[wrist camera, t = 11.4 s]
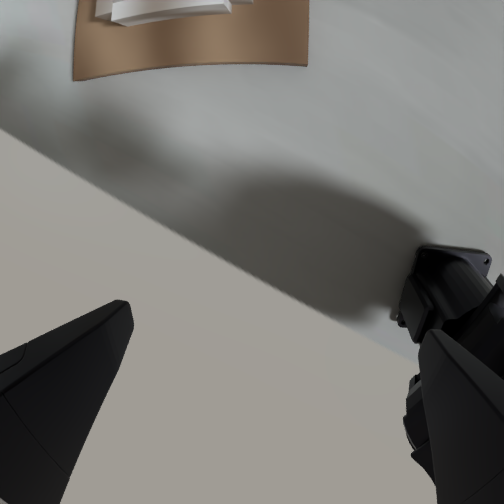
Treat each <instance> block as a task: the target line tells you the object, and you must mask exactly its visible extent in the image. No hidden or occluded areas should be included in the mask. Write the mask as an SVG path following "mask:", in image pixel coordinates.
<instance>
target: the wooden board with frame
mask: <svg viewBox="0 0 504 504" xmlns="http://www.w3.org/2000/svg"><path fill="white" fill-rule="evenodd" d="M308 38H309V0H79V4H78V12H77V22H76V33H75V48H74V71H73V81H85V80H90V79H95V78H100V77H105V76H111V75H117V74H123V73H129V72H136V71H143V70H152V69H160V68H170V67H182V66H196V65H218V64H268V65H290V66H305V67H307V65H308Z"/></svg>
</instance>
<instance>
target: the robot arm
mask: <svg viewBox="0 0 504 504" xmlns="http://www.w3.org/2000/svg"><path fill="white" fill-rule="evenodd" d="M423 252H426V254H425V255H424V256H421V255H422V253H423ZM485 259H487V260H486V261H485ZM484 261H485V262H484ZM491 261H492V258H491V256H490V255H489V254H487V253H482V252H474V251H465V250H457V249H448V248H439V247H430V246H421V247H419V249H418V250H417V252H416V256H415V260H414V264H413V267H412V271H411V274H410V275H409V276H408V277H407V280H406V283H405V287H404V290H403V293H402V297H401V300H400V303H399V308H400V311H399V314H398V317H397V323H398V325H399V326H400V327H404V328H408V331H409V333H410V336H411V339H412V341H413V342H414V343H415V344H419V345H420V349H419V353H418V360H419V368H420V373H419V374H418V375H415V376H414V377H413V378H412V379H411V380H410V384H409V393H408V396H407V398H406V409H407V410H406V412H407V414H406V415H405V416H404V417H403V424H404V427H405V430H406V435H407V438H408V441H409V443H410V444H411V446H412V448H413V449H414V451H413V452H412V453H411V457H412V458H413V459H414V460H415V461H416V462H417V463H418V464H419V465H420V466H422V467H423V468H424V469H425V471H426V472H427V474H428V475H429V476H430V477H431V479H432V481H433V482H434V484H435V486H436V494H437V504H504V276H503V275H502V274H500V275H499V277H498V278H497V280H496V284H495V285H494V286H493V285H492V284H491V282H490V281H489V280H488V279H487V278H486V276H487V274H488V271H489V268H490V265H491ZM402 320H405V321H403V322H401V321H402ZM133 329H134V321H133V316H132V312H131V307H130V304H129V302H127V301H123V300H114V301H112V302H110V303H108V304H106V305H104V306H102V307H100V308H97V309H95V310H93V311H91V312H89V313H87V314H85V315H83V316H81V317H79V318H76V319H74V320H72V321H70V322H68V323H66V324H64V325H62V326H60V327H58V328H56V329H54V330H51V331H49V332H47V333H45V334H43V335H41V336H39V337H37V338H35V339H33V340H31V341H29V342H28V343H25V344H23V345H21V346H18V347H17V348H14V349H12V350H10V351H8V352H6V353H4V354H1V355H0V504H60V502H61V499H62V497H63V494H64V491H65V489H66V486H67V484H68V482H69V479H70V476H71V474H72V471H73V469H74V466H75V464H76V462H77V459H78V457H79V454H80V452H81V450H82V448H83V445H84V443H85V441H86V438H87V436H88V434H89V431H90V429H91V427H92V425H93V423H94V421H95V418H96V416H97V414H98V412H99V410H100V408H101V405H102V403H103V401H104V399H105V397H106V395H107V393H108V390H109V388H110V386H111V384H112V382H113V380H114V378H115V376H116V374H117V372H118V370H119V367H120V364H121V362H122V359H123V356H124V354H125V351H126V348H127V345H128V343H129V340H130V337H131V335H132V332H133Z"/></svg>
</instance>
